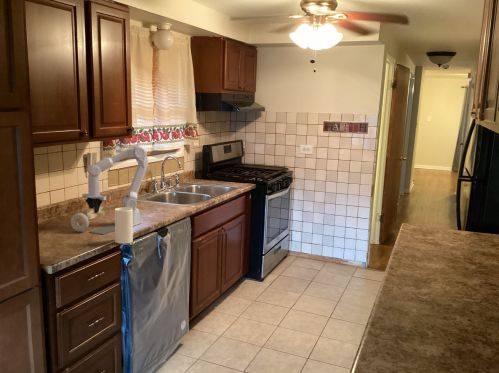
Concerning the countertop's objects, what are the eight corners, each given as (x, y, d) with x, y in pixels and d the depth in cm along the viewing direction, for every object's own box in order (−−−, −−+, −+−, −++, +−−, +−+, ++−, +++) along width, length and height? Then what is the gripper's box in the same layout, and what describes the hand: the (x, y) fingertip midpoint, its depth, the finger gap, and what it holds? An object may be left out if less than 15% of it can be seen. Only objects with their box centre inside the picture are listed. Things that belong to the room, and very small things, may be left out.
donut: (90, 232, 232) (90, 213, 231) (86, 233, 229) (86, 214, 227) (73, 230, 234) (73, 211, 233) (69, 231, 231) (69, 212, 230)
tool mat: (112, 225, 247) (112, 224, 247) (125, 227, 244) (125, 226, 244) (89, 232, 231) (89, 231, 231) (103, 235, 227) (103, 234, 227)
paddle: (101, 214, 248) (101, 205, 247) (105, 214, 247) (105, 206, 246) (83, 219, 235) (83, 210, 234) (87, 219, 234) (87, 210, 233)
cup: (126, 238, 223) (125, 206, 221) (136, 241, 218) (136, 209, 216) (111, 241, 217) (111, 208, 215) (121, 244, 212) (121, 211, 210)
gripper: (77, 186, 237) (78, 211, 239) (99, 189, 232) (100, 215, 234) (87, 185, 244) (87, 209, 246) (108, 187, 238) (109, 212, 240)
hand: (94, 212), depth 240 cm, fingers closed on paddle, 2 cm apart
